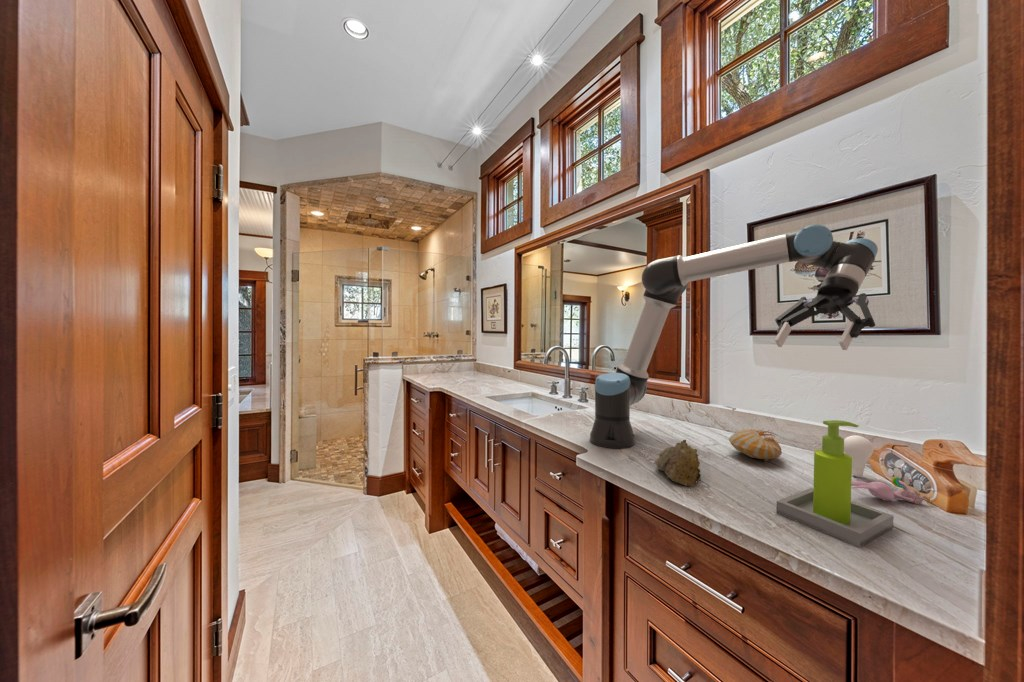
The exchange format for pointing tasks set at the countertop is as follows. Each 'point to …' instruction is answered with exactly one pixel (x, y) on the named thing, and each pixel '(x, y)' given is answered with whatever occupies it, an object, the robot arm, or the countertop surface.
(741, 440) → the nautilus
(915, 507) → the countertop surface
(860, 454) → the lightbulb
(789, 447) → the countertop surface
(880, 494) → the rabbit figure
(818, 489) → the soap dispenser
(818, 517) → the holder tray
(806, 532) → the countertop surface
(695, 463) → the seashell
